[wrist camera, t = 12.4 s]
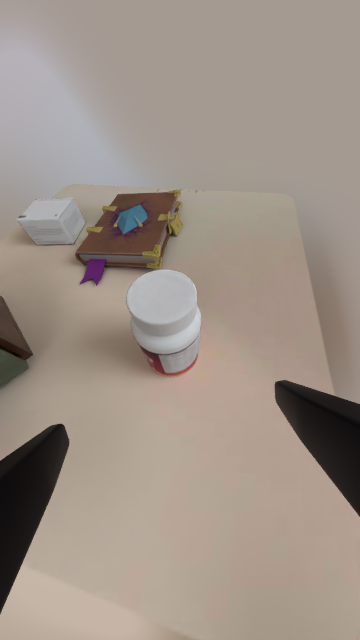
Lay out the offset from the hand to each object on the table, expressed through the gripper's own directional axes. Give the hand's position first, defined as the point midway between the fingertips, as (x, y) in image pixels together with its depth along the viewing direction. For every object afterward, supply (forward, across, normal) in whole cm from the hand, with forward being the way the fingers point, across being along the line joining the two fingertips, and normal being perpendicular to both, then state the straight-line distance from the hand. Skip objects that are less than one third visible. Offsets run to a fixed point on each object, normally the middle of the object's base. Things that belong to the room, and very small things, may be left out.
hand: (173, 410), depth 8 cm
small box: (+36, +18, -18) cm, 44 cm away
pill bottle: (+15, 0, +4) cm, 15 cm away
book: (+32, +3, -13) cm, 34 cm away
